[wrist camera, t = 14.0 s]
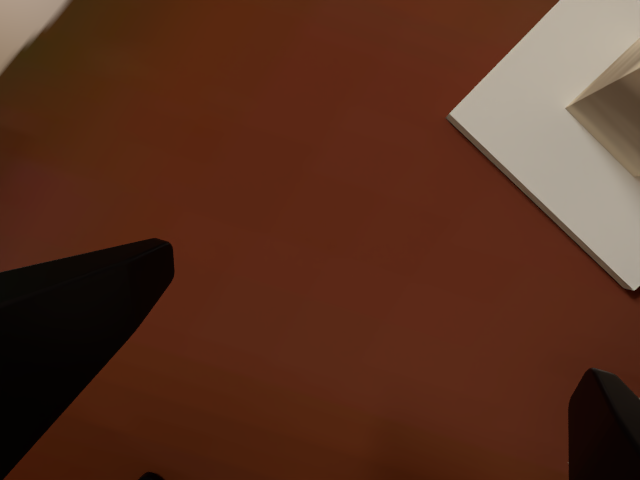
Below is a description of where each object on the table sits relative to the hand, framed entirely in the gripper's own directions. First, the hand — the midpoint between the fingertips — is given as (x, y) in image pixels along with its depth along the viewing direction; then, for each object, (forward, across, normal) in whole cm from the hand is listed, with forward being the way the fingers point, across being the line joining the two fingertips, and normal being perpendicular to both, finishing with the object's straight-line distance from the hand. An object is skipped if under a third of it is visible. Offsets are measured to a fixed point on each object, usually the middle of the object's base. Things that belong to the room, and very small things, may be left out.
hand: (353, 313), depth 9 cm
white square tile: (+18, -8, -2) cm, 20 cm away
